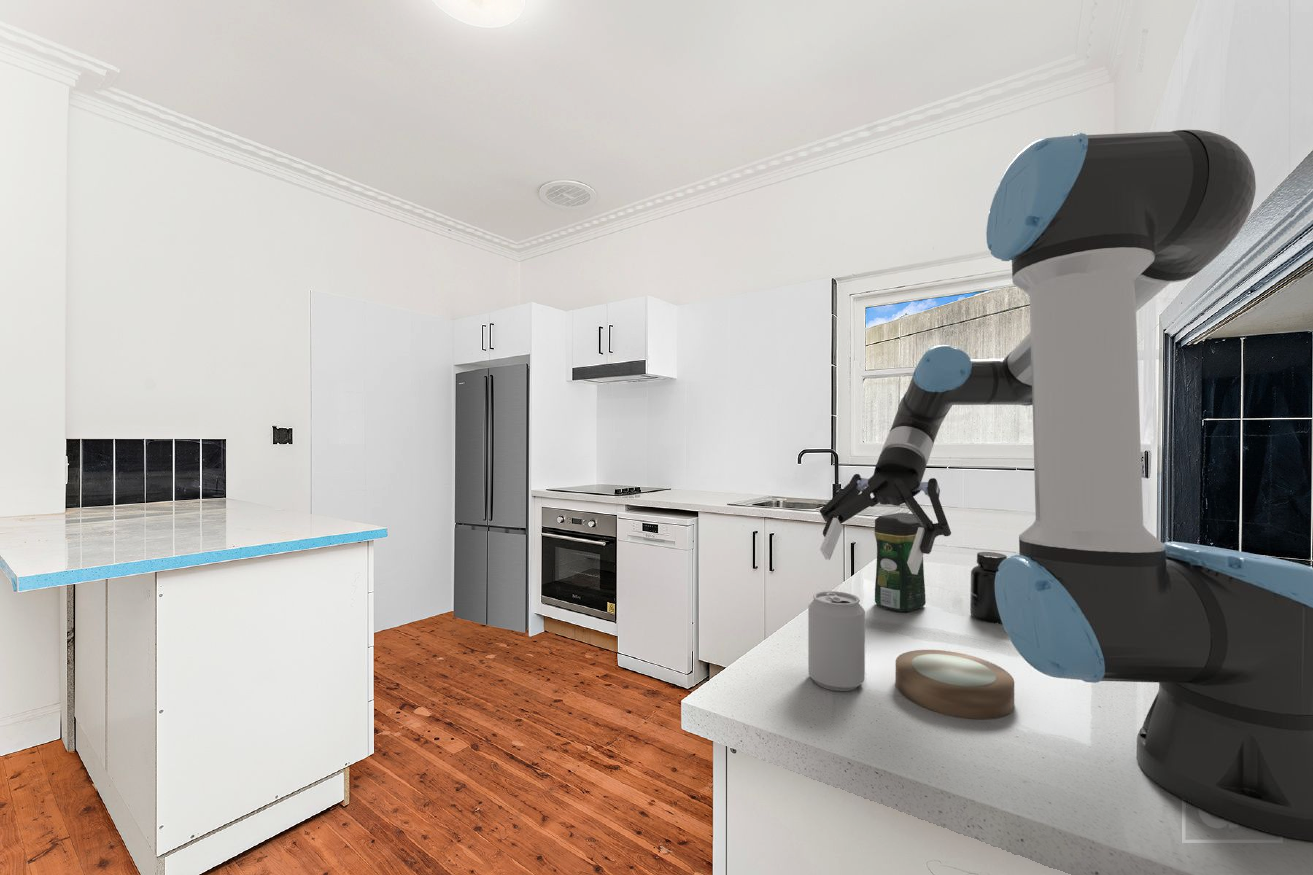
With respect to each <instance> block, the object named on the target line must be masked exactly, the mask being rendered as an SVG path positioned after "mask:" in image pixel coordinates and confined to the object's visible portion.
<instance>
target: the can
mask: <svg viewBox="0 0 1313 875" xmlns="http://www.w3.org/2000/svg"><path fill="white" fill-rule="evenodd" d="M812 597H813V600H812V601H811V602H810V603H809V604H808V607H807V609H808V612H807V613H808V619H807V620H808V621H807V622H808V624H807V625H808V626H807V627H808V628H807V629H808V631H807V632H808V633H807V634H808V636H807V637H808V639H807V640H808V643H807V644H808V653H807V655H808V665H807V666H808V676H810V678H811V679H812V680H813V681H814V682H815V684H816V685H818V686H820V687H822V688H823V689H824V688H825V689H827V690H831V691H837V692H849V691H852V690H853V691H854V690H855V689H858V687H859V686H860V685H861V684H864V682H865V679H866V678H865V676H866V674H865V673H866V672H865V670H866V669H865V664H866V658H865V657H866V656H865V655H866V654H865V653H866V652H865V650H866V649H865V647H866V645H865V644H866V643H865V642H866V641H865V639H866V637H865V636H866V634H865V633H866V632H865V631H866V628H865V626H866V625H865V622H866V621H865V620H866V619H865V617H866V614H865V609H864V608H863V606H862V605H861V604H860V601H861V600H860V598H859V597H858V596H856V595H855V594H852V593H847V592H844V591H835V590H834V591H833V590H832V591H831V590H828V591H827V590H825V591H823V590H822V591H818V592H816V593H814V594H813V595H812Z"/></svg>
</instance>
